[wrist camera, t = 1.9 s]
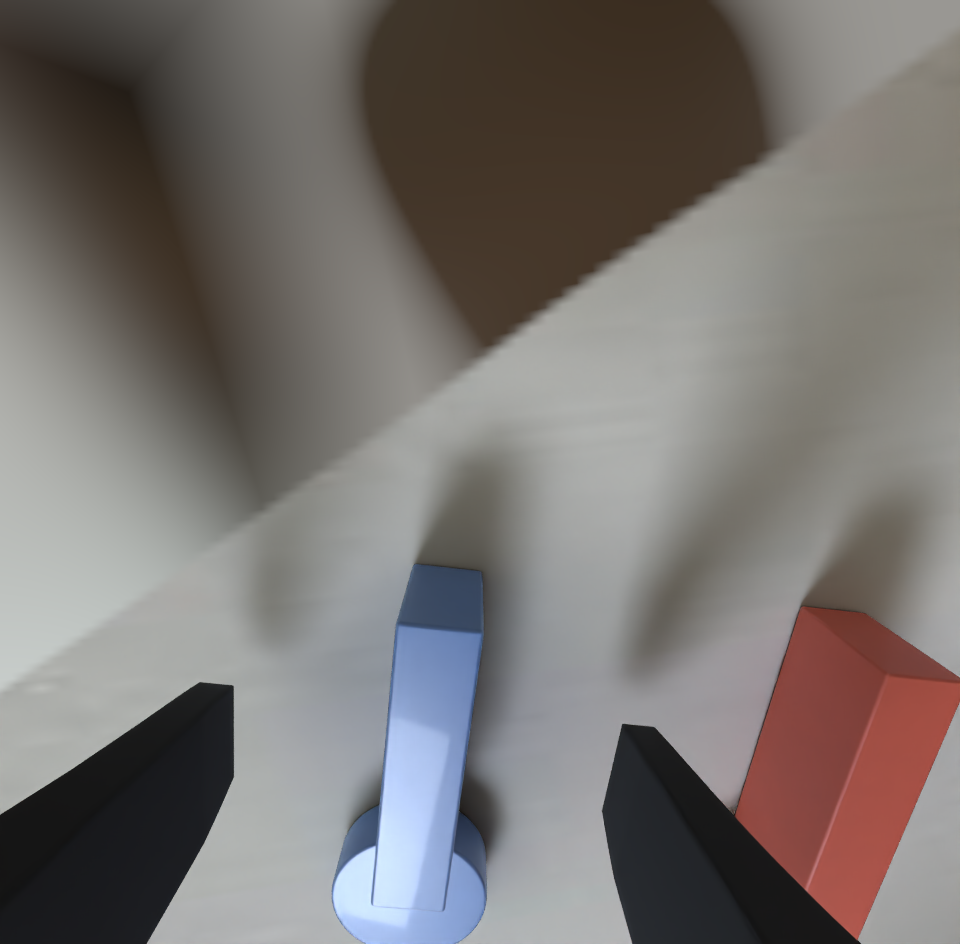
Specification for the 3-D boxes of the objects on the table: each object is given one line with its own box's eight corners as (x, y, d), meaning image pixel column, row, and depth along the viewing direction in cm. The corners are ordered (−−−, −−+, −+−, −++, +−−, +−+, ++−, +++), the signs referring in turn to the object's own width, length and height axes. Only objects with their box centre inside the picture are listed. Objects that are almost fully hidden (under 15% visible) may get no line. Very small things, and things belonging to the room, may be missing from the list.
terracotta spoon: (788, 938, 12) (854, 1061, 10) (657, 927, 12) (696, 1050, 10) (911, 617, 10) (1028, 689, 8) (752, 599, 10) (828, 668, 8)
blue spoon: (476, 912, 12) (476, 1034, 10) (339, 901, 12) (309, 1021, 10) (531, 575, 10) (547, 638, 8) (363, 556, 10) (331, 615, 8)
